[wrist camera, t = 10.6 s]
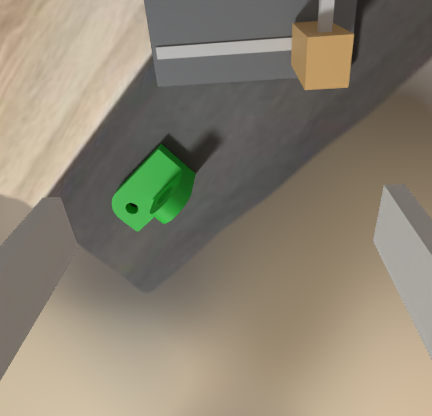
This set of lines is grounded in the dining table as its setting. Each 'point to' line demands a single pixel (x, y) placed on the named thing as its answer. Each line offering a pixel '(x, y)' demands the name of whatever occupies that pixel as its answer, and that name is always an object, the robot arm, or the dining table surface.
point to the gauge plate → (230, 38)
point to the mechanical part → (154, 190)
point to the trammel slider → (322, 51)
